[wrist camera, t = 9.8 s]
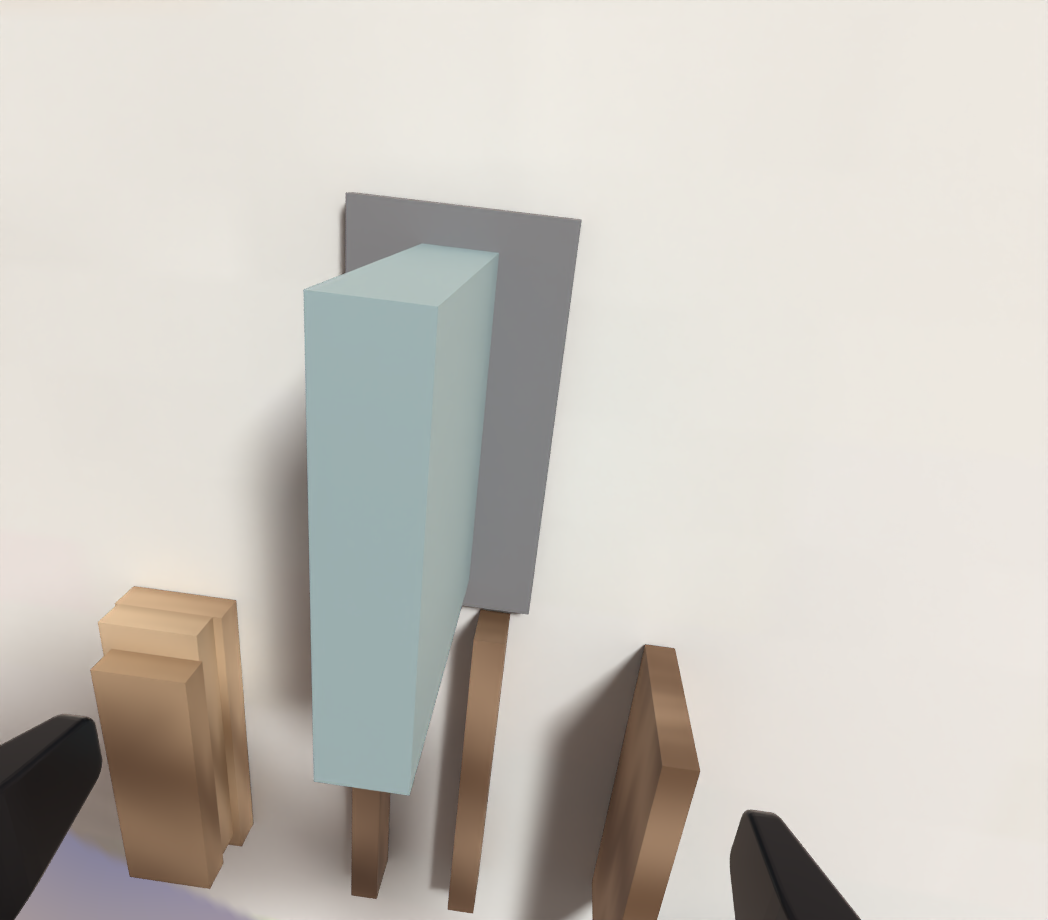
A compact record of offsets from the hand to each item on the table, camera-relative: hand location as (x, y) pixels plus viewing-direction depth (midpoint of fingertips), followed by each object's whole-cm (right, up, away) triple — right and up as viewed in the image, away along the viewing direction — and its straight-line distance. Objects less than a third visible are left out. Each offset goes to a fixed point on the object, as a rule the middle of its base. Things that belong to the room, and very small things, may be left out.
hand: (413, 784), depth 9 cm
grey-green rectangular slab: (-1, +5, +10) cm, 11 cm away
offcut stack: (-11, -5, +16) cm, 20 cm away
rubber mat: (-1, +6, +10) cm, 12 cm away
